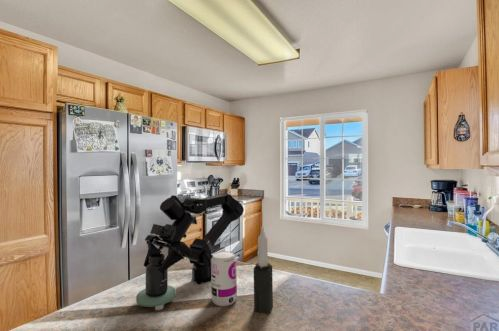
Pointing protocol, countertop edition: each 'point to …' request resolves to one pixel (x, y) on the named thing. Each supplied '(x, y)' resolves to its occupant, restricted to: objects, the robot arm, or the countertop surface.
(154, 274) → the supplement bottle
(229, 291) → the supplement can
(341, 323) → the countertop surface
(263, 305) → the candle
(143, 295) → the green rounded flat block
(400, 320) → the countertop surface
